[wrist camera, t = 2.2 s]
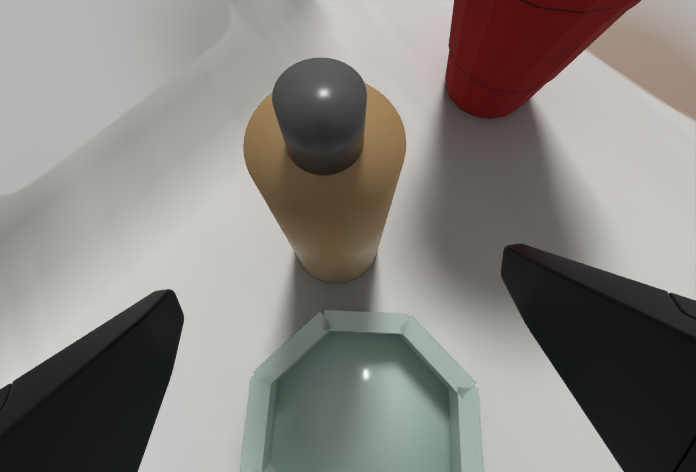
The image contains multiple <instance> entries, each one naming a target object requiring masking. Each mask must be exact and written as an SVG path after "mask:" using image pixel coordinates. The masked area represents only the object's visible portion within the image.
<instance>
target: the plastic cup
mask: <svg viewBox="0 0 696 472" xmlns="http://www.w3.org/2000/svg"><path fill="white" fill-rule="evenodd" d="M640 1H641V0H454V7H453V15H452V23H451V30H450V38H449V49H450V50H449V56H448V63H447V69H446V76H445V79H446V87H447V90H448V93H449V96H450V98H451V99H452V100H453V101H454V102H455V104H456V105H457V106H458V107H459V108H460V109H462V110H464V111H466V112H468V113H470V114H471V115H473V116H478V117H484V118H496V117H502V116H506V115H508V114H509V113H511V112H513V111H514V110H516V109H517V108H519V107H520V106H522V105H524V104H525V103H526V102H527V101H528V100H529V99H530V98H531V97H532V96H533V95H534V94H535V93H536V92H537V91H539V90H540V89H541V88H542V87H543V86H544V85H545V84H546V83H547V82H549V81H551V80H552V79H554V78H555V77H556V76H557V75H558V74H559V73H560V72H561V71H562V70H563V69H564V68H565V67H567V66H568V65H569V64H570V63H571V62H572V61H573V60H574V59H575V58H576V57H577V56H578V55H580V54H581V53H582V52H583V51H584V50H585V49H586V48H587V47H588V46H589V45H590V44H591V43H593V42H594V40H596V39H597V38H598V37H599V36H600V35H601V34H602V33H603V32H604V31H605V30H607V28H609V27H610V26H611V25H612V24H613V23H614V22H615V21H616V20H617V19H618V18H620V17H621V16H622V15H623V14H624V13H625V12H626V11H627V10H629V9H630V8H632V7H634V6H635V5H636V4H638V3H639V2H640Z"/></svg>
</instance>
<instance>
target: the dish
mask: <svg viewBox="0 0 696 472" xmlns="http://www.w3.org/2000/svg"><path fill="white" fill-rule="evenodd" d="M254 374H255V376H252V377H251V380H250V388H249V397H248V405H247V413H246V421H245V430H244V438H243V446H242V455H241V463H240V471H239V472H484V466H483V450H482V435H481V420H480V404H479V389H478V388H477V387H474V385H475V384H476V382H475V381H474V380H473V379H472V378H471V377H470V376H469V375H468V374H467V372H466V371H465V370H464V369H463V368H462V367H461V366H460V365H459V364H458V363H457V362H456V361H455V360H454V359H453V358H452V357H451V356H450V355H449V354H448V352H447V351H446V350H445V349H444V348H443V347H442V346H441V345H440V344H439V343H438V342H437V341H436V340H435V339H434V338H433V337H432V336H431V335H430V334H429V333H428V331H427V330H426V329H425V328H424V327H423V326H422V325H421V324H420V323H419V322H418V321H417V320H416V319H415V318H414V317H413V316H410V317H408V314H404V313H382V312H360V311H338V310H324V316H323V315H322V313H321V312H319V313H317V314H316V315H315V316H314V317H313V318H312V319H311V320H310V321H309V322H308V323H306V324H305V325H304V326H303V327H302V328H301V329H300V330H299V331H298V332H297V333H296V334H294V335H293V336H292V337H291V338H290V339H289V340H288V341H287V342H286V343H285V344H283V345H282V346H281V347H280V348H279V349H278V350H277V351H276V352H275V353H274V354H273V355H271V356H270V357H269V358H268V359H267V360H266V361H265V362H264V363H263V364H262V365H260V366H259V367H258V368H257V369H256V370H255V371H254Z"/></svg>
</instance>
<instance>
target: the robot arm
mask: <svg viewBox="0 0 696 472" xmlns="http://www.w3.org/2000/svg"><path fill="white" fill-rule="evenodd" d="M501 276H502V279H503V281H504V283H505V285H506V287H507V289H508V291H509V293H510V295H511V297H512V299H513V301H514V303H515V305H516V307H517V309H518V311H519V313H520V314H521V316H522V318H523V320H524V322H525V324H526V325H527V327H528V328H529V330H530V332H531V333H532V335H533V336H534V338H535V339H536V341H537V342H538V344H539V345H540V347H541V348H542V350H543V351H544V353H545V354H546V356H547V357H548V359H549V360H550V362H551V363H552V365H553V366H554V368H555V369H556V371H557V372H558V374H559V375H560V377H561V378H562V380H563V381H564V383H565V384H566V386H567V387H568V389H569V390H570V392H571V393H572V395H573V396H574V398H575V399H576V401H577V402H578V404H579V405H580V407H581V408H582V410H583V411H584V413H585V414H586V416H587V417H588V419H589V420H590V422H591V423H592V425H593V426H594V428H595V429H596V431H597V432H598V434H599V435H600V437H601V438H602V440H603V441H604V443H605V444H606V446H607V447H608V449H609V450H610V452H611V453H612V455H613V456H614V458H615V459H616V461H617V462H618V464H619V465H620V467H621V468H622V470H623V471H624V472H696V301H695V300H692V299H689V298H686V297H683V296H680V295H677V294H674V293H668V292H667V291H664V290H661V289H658V288H655V287H652V286H649V285H646V284H643V283H640V282H637V281H634V280H631V279H628V278H625V277H622V276H619V275H616V274H613V273H609V272H606V271H603V270H600V269H597V268H594V267H591V266H588V265H585V264H582V263H579V262H576V261H573V260H570V259H567V258H564V257H561V256H558V255H555V254H552V253H548V252H545V251H542V250H539V249H536V248H533V247H530V246H527V245H524V244H513V245H507V246H506V247H505V248H504V251H503V259H502V266H501ZM183 323H184V315H183V311H182V309H181V306H180V304H179V302H178V299H177V297H176V294H175V293H174V291H173V290H171V289H167V290H159V291H155V292H153V293H151V294H150V295H148V296H147V297H145V298H143V299H142V300H140V301H139V302H137V303H136V304H134V305H132V306H131V307H129V308H128V309H126V310H125V311H123V312H121V313H120V314H118V315H117V316H115V317H114V318H112V319H110V320H109V321H107V322H106V323H104V324H103V325H101V326H99V327H98V328H96V329H95V330H93V331H92V332H90V333H88V334H87V335H85V336H84V337H82V338H81V339H79V340H77V341H76V342H74V343H73V344H71V345H69V346H68V347H66V348H65V349H63V350H62V351H60V352H58V353H57V354H55V355H54V356H52V357H51V358H49V359H47V360H46V361H44V362H43V363H41V364H40V365H38V366H36V367H35V368H33V369H32V370H30V371H29V372H27V373H25V374H24V375H22V376H21V377H19V378H18V379H16V380H14V381H13V383H12V384H8V385H6V386H5V387H3V388H2V389H0V472H138V469H139V466H140V464H141V461H142V458H143V455H144V452H145V449H146V446H147V444H148V441H149V438H150V435H151V432H152V429H153V426H154V424H155V421H156V418H157V415H158V412H159V409H160V406H161V404H162V401H163V398H164V395H165V392H166V389H167V386H168V384H169V381H170V377H171V374H172V371H173V367H174V363H175V358H176V354H177V350H178V345H179V341H180V336H181V332H182V328H183Z"/></svg>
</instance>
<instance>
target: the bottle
mask: <svg viewBox="0 0 696 472" xmlns="http://www.w3.org/2000/svg"><path fill="white" fill-rule="evenodd" d="M405 153H406V136H405V130H404V126H403V123H402V121H401V118H400V116H399V114H398V113H397V111H396V109H395V108H394V106H393V105H392V104H391V103H390V101H389V100H388V99H387V98H386V97H385V96H384V95H382V94H381V93H380V92H379V91H377V90H376V89H374V88H373V87H371V86H369V85H368V84H365V83H364V81H363V79H362V78H361V76H360V75H359V74H358V73H357V72H356V71H355V70H354V69H353V68H352V67H350V66H349V65H347V64H345V63H343V62H341V61H338V60H335V59H330V58H311V59H307V60H303V61H301V62H298V63H296V64H294V65H292V66H291V67H289V68H288V69H287V70H285V71H284V72H283V73H282V74H281V76H280V77H279V78H278V80H277V82H276V83H275V86H274V88H273V92H272V93H271V94H270V95H269V96H268V97H266V98H265V99H264V100H263V101H262V102H261V104H260V105H259V106H258V107H257V109H256V110H255V111H254V113H253V115H252V117H251V118H250V120H249V123H248V126H247V128H246V132H245V136H244V158H245V162H246V166H247V168H248V171H249V174H250V176H251V177H252V179H253V181H254V182H255V184H256V186H257V188H258V189H259V191H260V193H261V194H262V196H263V198H264V200H265V201H266V203H267V205H268V207H269V208H270V210H271V212H272V213H273V215H274V217H275V219H276V220H277V222H278V224H279V225H280V227H281V229H282V231H283V232H284V234H285V236H286V238H287V239H288V241H289V243H290V244H291V246H292V248H293V250H294V251H295V253H296V255H297V256H298V258H299V260H300V262H301V263H302V265H303V266H304V268H305V269H306V270H307V271H308V272H309V273H310V274H311V275H313V276H314V277H316V278H318V279H320V280H323V281H326V282H331V283H342V282H347V281H351V280H353V279H355V278H357V277H359V276H360V275H362V274H363V273H364V272H365V271H366V270H367V269H368V268H369V267H370V266H371V264H372V262H373V261H374V259H375V256H376V253H377V250H378V246H379V243H380V240H381V236H382V233H383V229H384V226H385V223H386V219H387V216H388V213H389V209H390V206H391V202H392V199H393V196H394V192H395V189H396V186H397V182H398V179H399V175H400V172H401V169H402V165H403V162H404V157H405Z"/></svg>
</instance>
